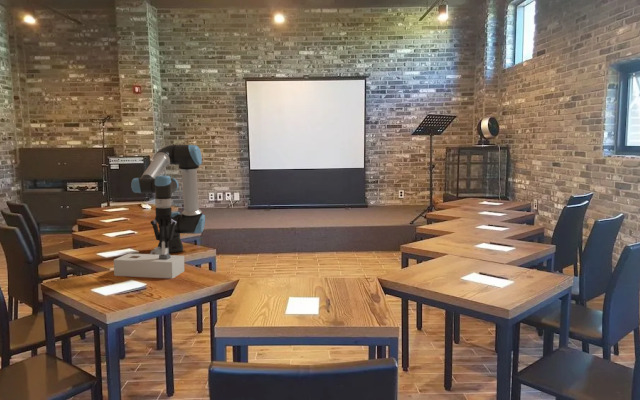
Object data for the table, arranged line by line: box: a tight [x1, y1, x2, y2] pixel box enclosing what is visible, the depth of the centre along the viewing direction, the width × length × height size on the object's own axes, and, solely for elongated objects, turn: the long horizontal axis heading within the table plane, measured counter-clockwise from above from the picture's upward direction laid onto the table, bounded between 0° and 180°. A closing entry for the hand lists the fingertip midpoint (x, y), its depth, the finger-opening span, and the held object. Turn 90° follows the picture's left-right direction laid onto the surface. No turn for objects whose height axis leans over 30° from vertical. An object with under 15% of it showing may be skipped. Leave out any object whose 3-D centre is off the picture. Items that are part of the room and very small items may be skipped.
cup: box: [149, 246, 170, 255], centre depth 256 cm, size 7×10×9 cm
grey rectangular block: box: [113, 253, 185, 279], centre depth 237 cm, size 14×30×8 cm, turn 82°
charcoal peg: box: [159, 253, 171, 260], centre depth 236 cm, size 4×4×7 cm
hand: (164, 254), depth 236 cm, fingers closed
